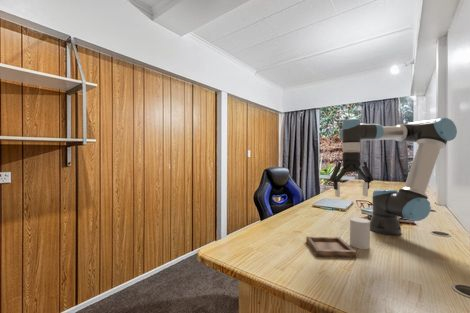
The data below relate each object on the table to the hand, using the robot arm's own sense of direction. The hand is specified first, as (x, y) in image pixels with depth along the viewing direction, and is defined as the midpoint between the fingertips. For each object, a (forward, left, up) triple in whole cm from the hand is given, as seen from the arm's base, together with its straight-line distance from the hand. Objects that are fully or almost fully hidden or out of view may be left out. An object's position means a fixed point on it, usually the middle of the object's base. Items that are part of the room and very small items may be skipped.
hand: (351, 196), depth 106 cm
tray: (+13, +6, -23) cm, 27 cm away
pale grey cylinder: (-3, +1, -23) cm, 23 cm away
